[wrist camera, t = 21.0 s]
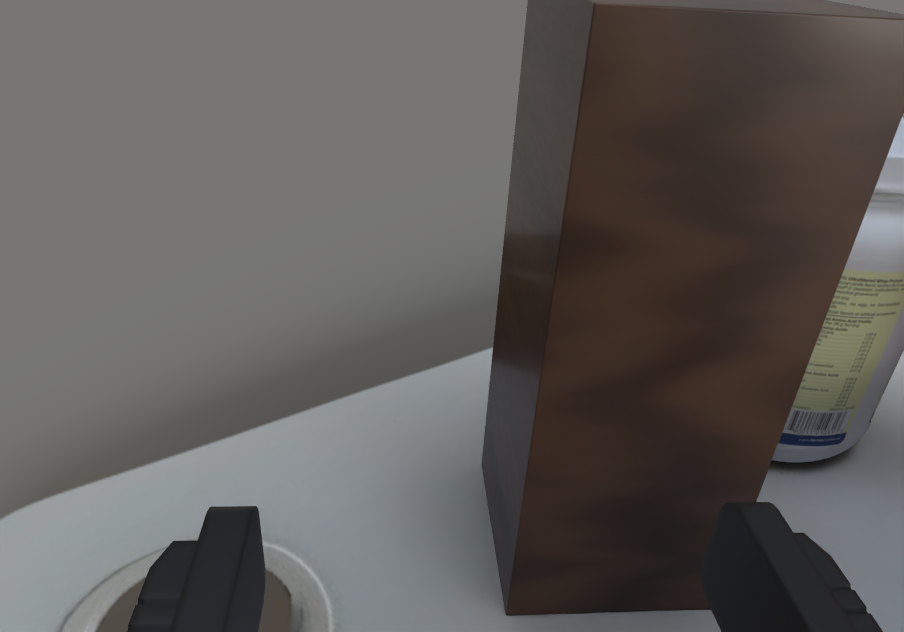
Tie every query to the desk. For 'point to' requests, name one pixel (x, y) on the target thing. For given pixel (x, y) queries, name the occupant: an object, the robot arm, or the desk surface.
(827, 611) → the robot arm
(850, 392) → the supplement tub
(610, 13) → the plant stand
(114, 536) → the desk surface
